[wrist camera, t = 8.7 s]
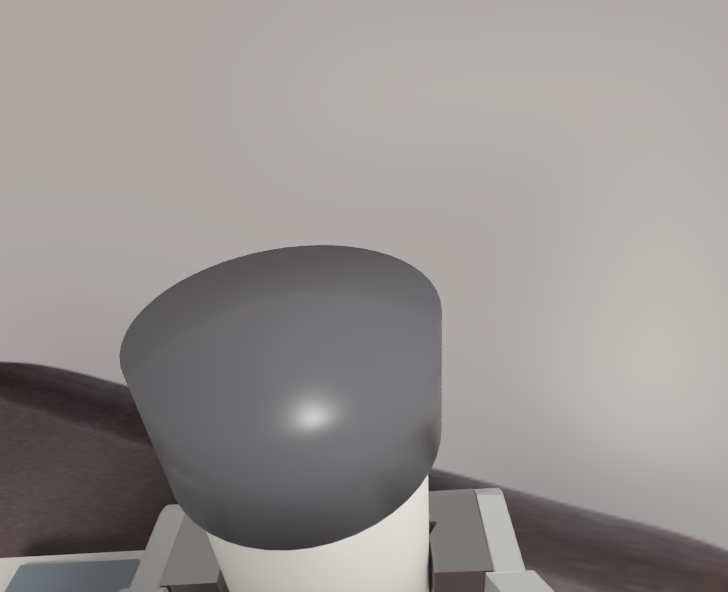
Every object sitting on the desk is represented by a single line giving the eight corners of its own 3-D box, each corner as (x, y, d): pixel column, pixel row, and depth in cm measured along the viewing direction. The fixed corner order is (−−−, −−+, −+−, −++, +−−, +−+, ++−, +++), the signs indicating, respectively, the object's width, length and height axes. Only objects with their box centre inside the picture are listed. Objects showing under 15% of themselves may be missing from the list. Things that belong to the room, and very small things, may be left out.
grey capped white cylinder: (269, 827, 11) (48, 435, 5) (292, 627, 14) (182, 254, 8) (452, 823, 10) (469, 410, 4) (430, 622, 14) (423, 237, 8)
